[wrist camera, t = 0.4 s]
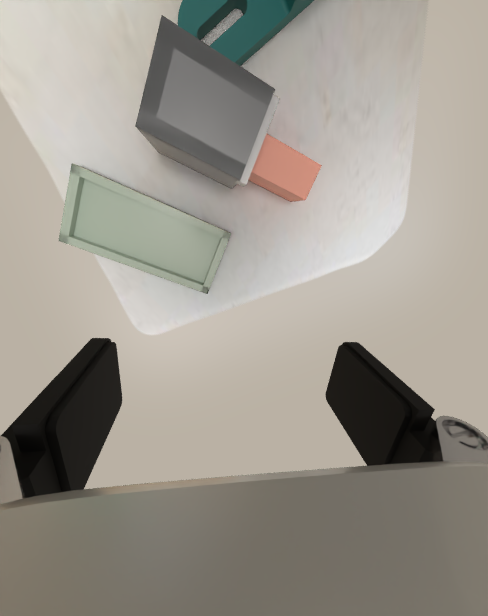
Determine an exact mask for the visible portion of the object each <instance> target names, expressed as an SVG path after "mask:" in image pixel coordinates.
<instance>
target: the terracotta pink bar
mask: <svg viewBox="0 0 488 616" xmlns="http://www.w3.org/2000/svg"><path fill="white" fill-rule="evenodd" d="M321 166H322V165H320V164H318V163H317V162H315V161H313V160H311V159H310V158H308V157H306V156H304V155H303V154H301V153H299V152H298V151H296V150H294V149H292V148H291V147H289V146H287V145H286V144H284V143H282V142H280V141H279V140H277V139H275V138H273V137H272V136H270V135H268V134H267V133H266V136H265V139H264V141H263V144H262V146H261V149H260V151H259V154H258V156H257V159H256V162H255V164H254V167H253V169H252V172H251V174H250V177H249V179H248V180H249V181H251V182H253V183H255V184H257V185H259V186H261V187H263V188H265V189H267V190H269V191H271V192H273V193H275V194H277V195H279V196H280V197H282V198H284V199H286V200H288V201H290V202H292V201H301V200H306V198H307V196H308V194H309V192H310V189H311V187H312V185H313V183H314V181H315V179H316V177H317V174H318V172H319V170H320V168H321Z"/></svg>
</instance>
